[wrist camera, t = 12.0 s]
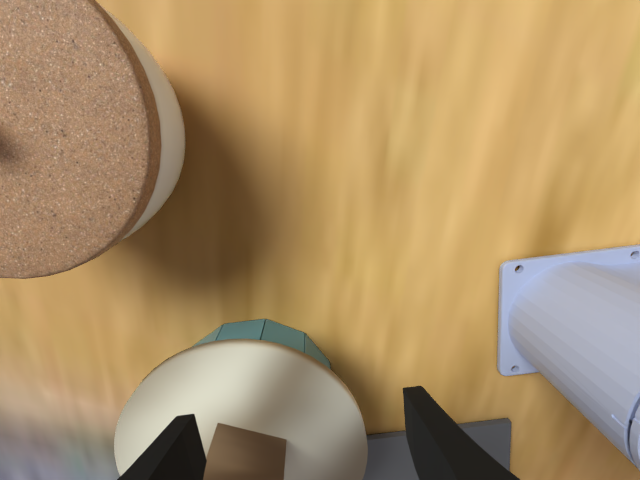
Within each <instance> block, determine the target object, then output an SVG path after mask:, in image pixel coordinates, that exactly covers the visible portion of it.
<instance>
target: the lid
mask: <svg viewBox="0 0 640 480" xmlns="http://www.w3.org/2000/svg"><path fill="white" fill-rule="evenodd" d="M188 414H195V418H196V422H197V426H198V429H199V433H200V437H201V441H202V445H203V448H204V452H205V456H206V460H207V462H206V467H205V472H204V477H203V480H362V479H363V477H364V474H365V469H366V465H367V456H368V445H367V436H366V431H365V426H364V421H363V418H362V414H361V411H360V409H359V406H358V404H357V402H356V400H355V398H354V396H353V395H352V393H351V392H350V390H349V389H348V387H347V386H346V385H345V384H344V383H343V381H342V380H341V379H340V378H339V377H338V376H337V375H336V374H335V373H334V372H333V371H331V370H330V369H329V368H328V367H327V366H326V365H324V364H322V363H321V362H319V361H318V360H316V359H315V358H313V357H312V356H309V355H307V354H305V353H303V352H301V351H299V350H297V349H294V348H291V347H288V346H285V345H282V344H279V343H274V342H269V341H265V340H255V339H226V340H218V341H212V342H208V343H204V344H200V345H196V346H194V347H191V348H188V349H186V350H183V351H181V352H179V353H177V354H175V355H174V356H172V357H170V358H168V359H166V360H165V361H164V362H162V363H161V364H160V365H158V366H157V367H156V368H154V369H153V370H152V371H151V372H150V373H149V374H148V375H147V376H146V377H145V378H144V379H143V381H142V382H141V383H140V385H139V386H138V387H137V389H136V390H135V391H134V393H133V394H132V396H131V397H130V398H129V400H128V401H127V403H126V405H125V407H124V409H123V411H122V413H121V415H120V417H119V421H118V424H117V427H116V433H115V440H114V450H115V459H116V464H117V469H118V471H119V474H120V476H121V475H122V474H123V473H124V472H125V471H126V470H127V469H128V468H129V467H130V466H131V465H132V464H133V463H134V462H135V461H136V460H137V459H138V457H139V456H140V455H141V454H142V453H143V452H144V451H145V450H146V449H147V448H148V447H149V446H150V444H151V443H152V442H153V441H154V440H155V439H156V438H157V437H158V436H159V434H160V433H161V432H162V431H163V430H164V429H165V428H166V427H167V426H168V425H169V424H170V422H171V421H172V420H173V419H174V418H175V417H176V416H180V415H188Z"/></svg>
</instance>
